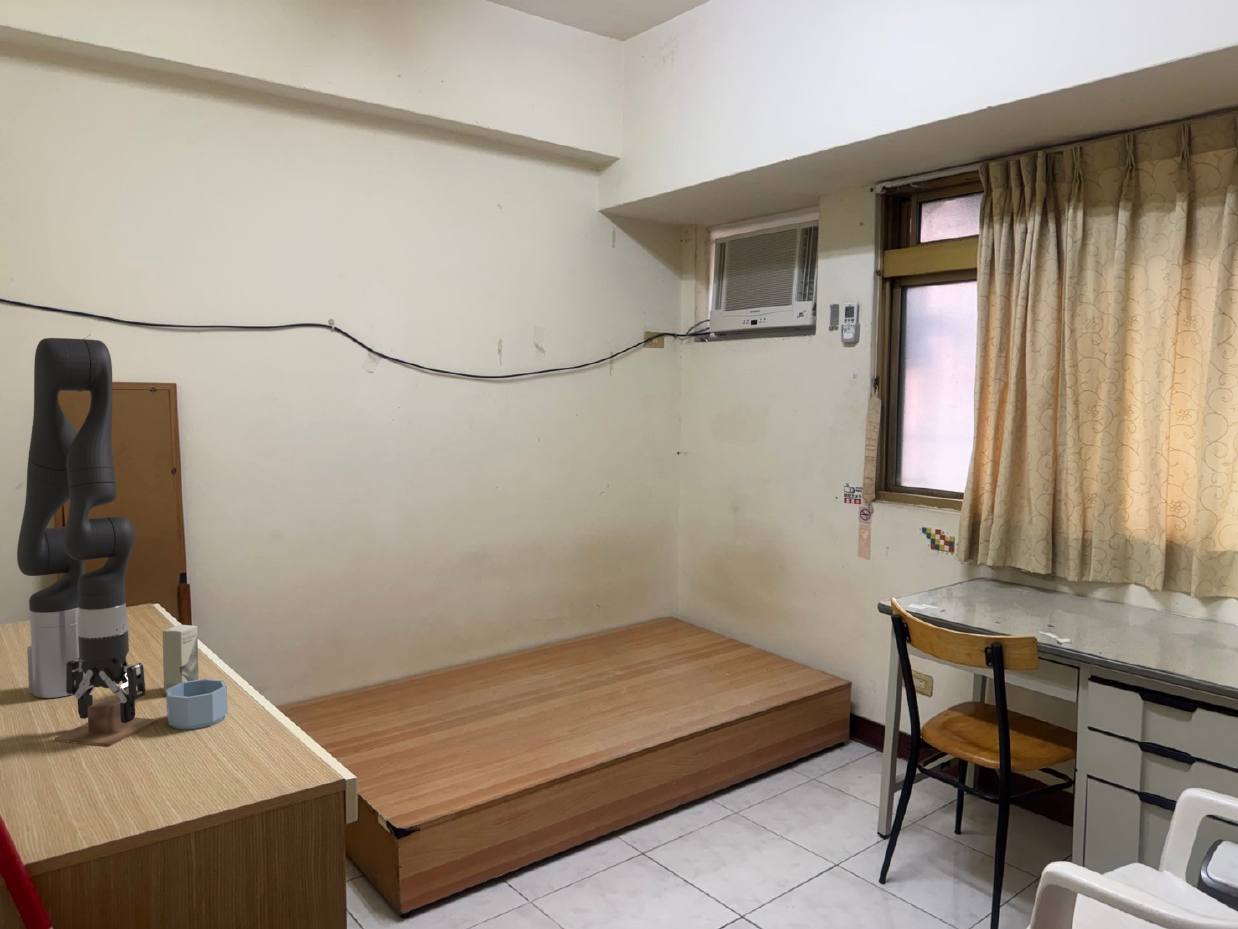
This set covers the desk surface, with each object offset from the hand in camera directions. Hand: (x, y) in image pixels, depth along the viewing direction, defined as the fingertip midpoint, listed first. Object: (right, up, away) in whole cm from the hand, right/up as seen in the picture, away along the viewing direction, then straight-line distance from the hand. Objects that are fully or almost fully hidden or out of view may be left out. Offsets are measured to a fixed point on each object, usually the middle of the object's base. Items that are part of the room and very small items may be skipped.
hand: (106, 719), depth 147 cm
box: (+2, -1, +21) cm, 21 cm away
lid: (0, -3, 0) cm, 3 cm away
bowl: (+13, -2, +6) cm, 15 cm away
